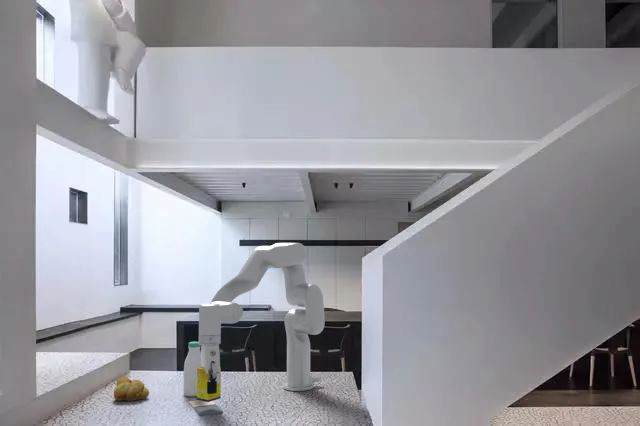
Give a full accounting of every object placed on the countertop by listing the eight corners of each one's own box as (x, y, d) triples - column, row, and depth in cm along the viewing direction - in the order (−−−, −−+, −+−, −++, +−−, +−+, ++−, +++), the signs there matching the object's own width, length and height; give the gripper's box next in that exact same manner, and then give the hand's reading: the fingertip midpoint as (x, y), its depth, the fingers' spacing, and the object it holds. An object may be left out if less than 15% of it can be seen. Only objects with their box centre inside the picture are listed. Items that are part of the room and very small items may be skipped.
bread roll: (152, 396, 211) (152, 375, 211) (142, 403, 201) (143, 380, 202) (119, 395, 212) (120, 374, 212) (108, 402, 202) (109, 380, 202)
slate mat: (217, 406, 196) (217, 405, 196) (222, 412, 189) (222, 411, 189) (194, 409, 193) (194, 407, 193) (199, 415, 185) (199, 413, 185)
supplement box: (209, 396, 195) (209, 364, 196) (221, 398, 192) (221, 366, 192) (196, 399, 190) (196, 367, 191) (208, 402, 187) (208, 369, 188)
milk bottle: (198, 397, 208) (199, 344, 210) (179, 396, 210) (180, 343, 211) (207, 392, 216) (207, 341, 217) (188, 391, 217) (189, 340, 219)
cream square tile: (210, 400, 205) (210, 398, 205) (215, 405, 197) (215, 404, 197) (189, 402, 201) (189, 401, 201) (193, 408, 194) (193, 406, 194)
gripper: (226, 342, 186) (226, 395, 185) (214, 335, 202) (213, 384, 201) (204, 344, 183) (203, 397, 182) (193, 336, 199) (192, 386, 198)
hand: (208, 390), depth 191 cm, fingers closed on supplement box, 8 cm apart
